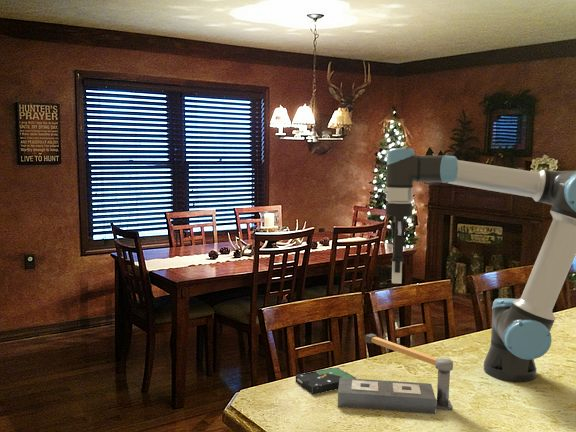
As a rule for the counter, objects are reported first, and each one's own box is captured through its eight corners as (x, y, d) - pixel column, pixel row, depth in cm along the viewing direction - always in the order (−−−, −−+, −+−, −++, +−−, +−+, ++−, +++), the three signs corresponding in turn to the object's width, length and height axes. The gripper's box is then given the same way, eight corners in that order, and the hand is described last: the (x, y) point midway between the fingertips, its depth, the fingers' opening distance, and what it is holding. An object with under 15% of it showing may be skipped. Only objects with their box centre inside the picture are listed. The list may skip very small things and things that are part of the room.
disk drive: (312, 397, 151) (356, 386, 158) (312, 387, 151) (356, 377, 158) (294, 383, 160) (337, 374, 167) (294, 374, 160) (337, 365, 167)
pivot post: (449, 403, 147) (451, 367, 146) (452, 410, 143) (453, 373, 142) (432, 402, 148) (434, 366, 147) (435, 409, 143) (436, 372, 142)
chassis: (430, 397, 150) (431, 381, 150) (435, 414, 140) (435, 397, 140) (339, 391, 154) (339, 375, 153) (337, 406, 144) (338, 390, 143)
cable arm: (456, 369, 144) (456, 361, 143) (445, 372, 141) (446, 365, 141) (373, 339, 167) (373, 333, 167) (363, 342, 164) (363, 335, 164)
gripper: (384, 200, 164) (382, 277, 166) (386, 203, 151) (384, 287, 154) (410, 200, 163) (407, 278, 165) (414, 204, 150) (411, 288, 153)
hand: (396, 282), depth 159 cm, fingers closed
